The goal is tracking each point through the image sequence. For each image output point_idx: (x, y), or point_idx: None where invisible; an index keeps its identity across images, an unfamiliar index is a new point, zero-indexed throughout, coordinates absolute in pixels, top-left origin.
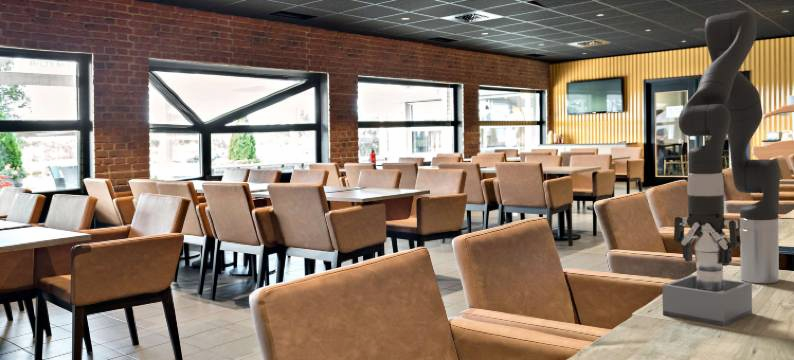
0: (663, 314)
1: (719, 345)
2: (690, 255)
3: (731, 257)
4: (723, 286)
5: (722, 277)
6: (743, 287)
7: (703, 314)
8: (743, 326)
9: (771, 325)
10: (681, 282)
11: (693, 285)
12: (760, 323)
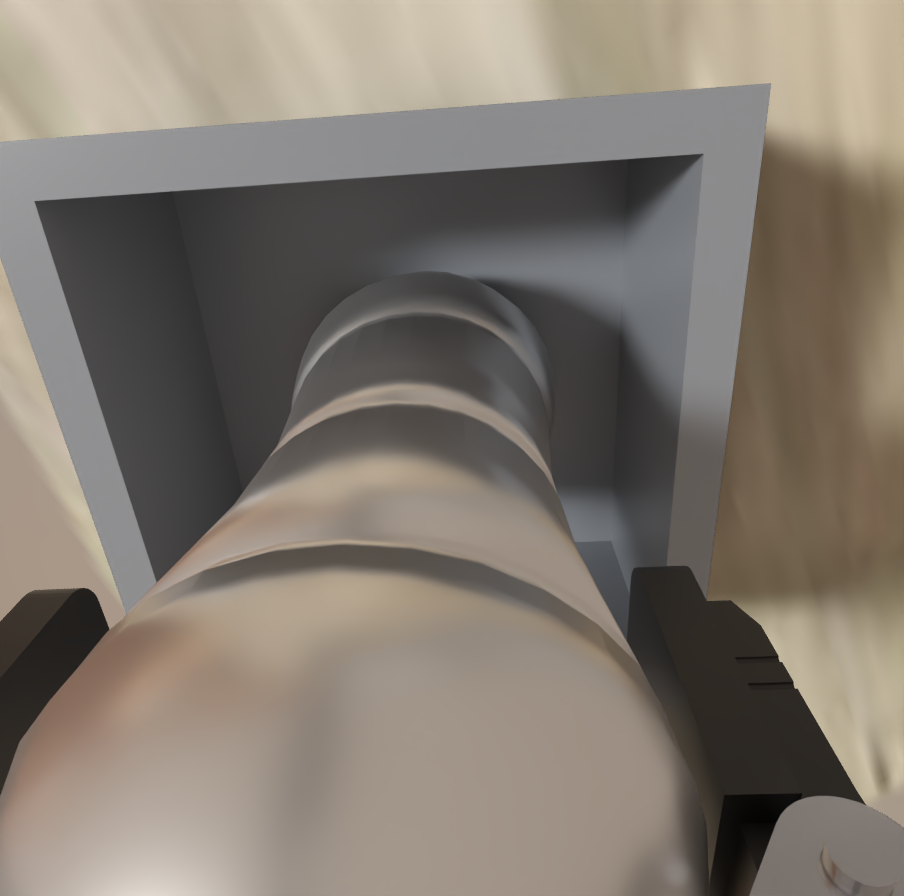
0: None
1: None
2: (57, 686)
3: (782, 674)
4: (544, 412)
5: (550, 467)
6: (734, 332)
7: None
8: (724, 475)
9: (873, 339)
10: (137, 481)
11: (101, 205)
12: (797, 342)
